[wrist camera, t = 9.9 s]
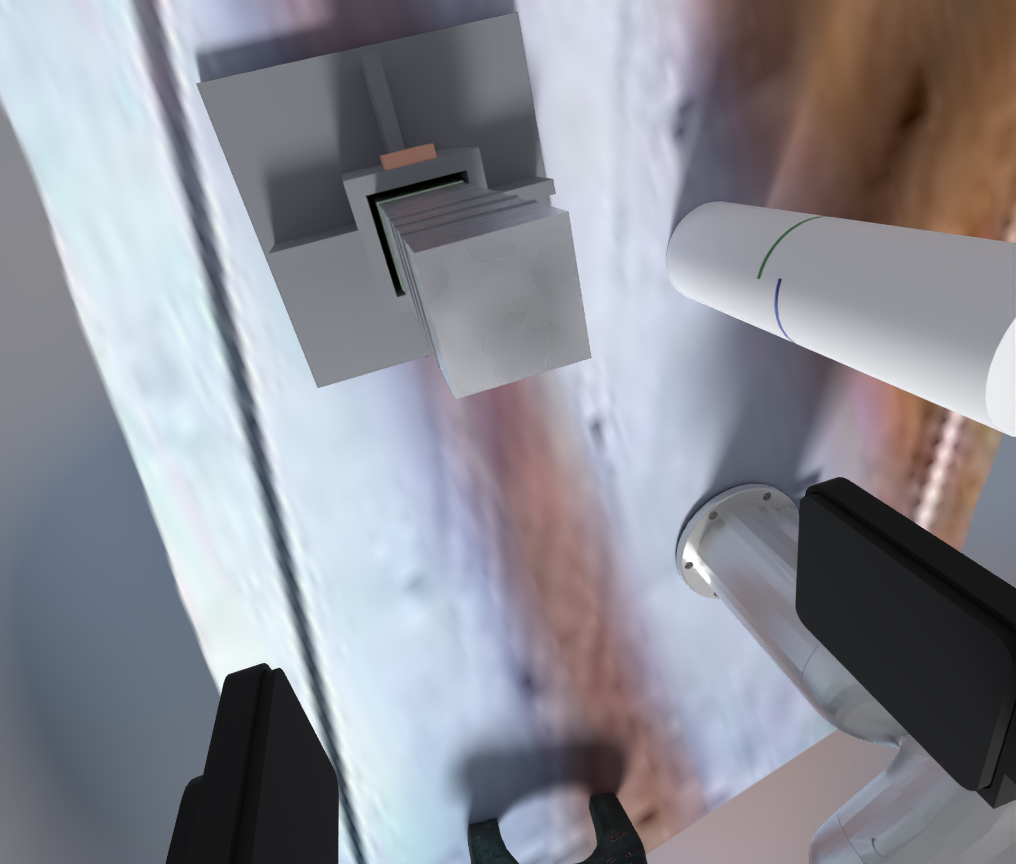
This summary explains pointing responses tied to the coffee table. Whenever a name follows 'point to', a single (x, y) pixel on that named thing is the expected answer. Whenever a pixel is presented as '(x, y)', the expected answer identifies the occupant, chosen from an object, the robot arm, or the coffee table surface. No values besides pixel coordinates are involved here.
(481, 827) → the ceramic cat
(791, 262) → the cylindrical container
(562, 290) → the steel post
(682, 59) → the coffee table surface
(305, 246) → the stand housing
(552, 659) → the coffee table surface
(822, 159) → the coffee table surface
